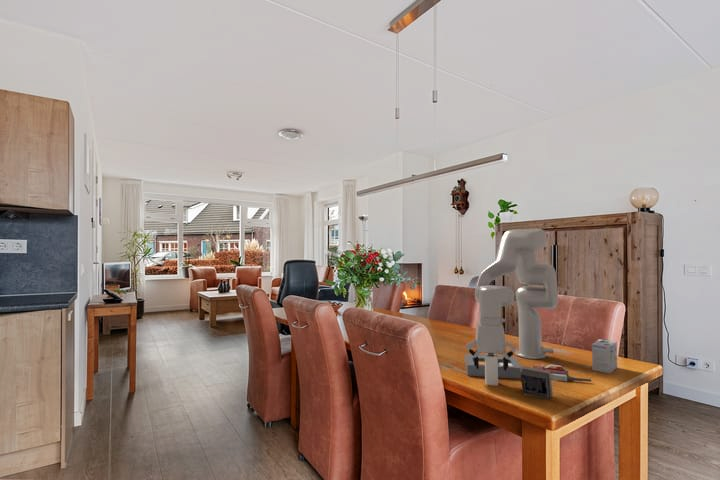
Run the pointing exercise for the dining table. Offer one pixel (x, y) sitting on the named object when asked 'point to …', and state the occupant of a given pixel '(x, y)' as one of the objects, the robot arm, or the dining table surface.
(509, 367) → the socket block
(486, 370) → the white bottle
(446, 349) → the dining table surface
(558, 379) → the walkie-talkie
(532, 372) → the electrical switch
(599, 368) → the light bulb box
